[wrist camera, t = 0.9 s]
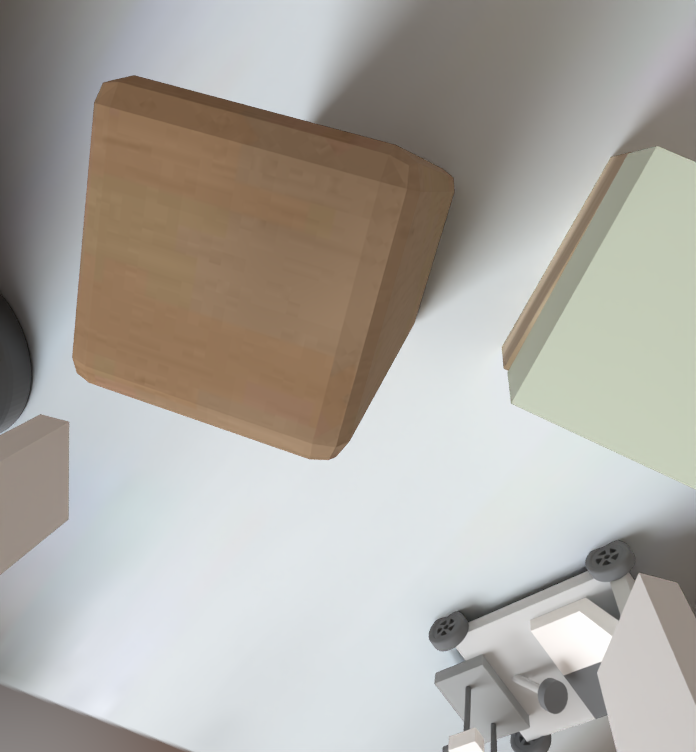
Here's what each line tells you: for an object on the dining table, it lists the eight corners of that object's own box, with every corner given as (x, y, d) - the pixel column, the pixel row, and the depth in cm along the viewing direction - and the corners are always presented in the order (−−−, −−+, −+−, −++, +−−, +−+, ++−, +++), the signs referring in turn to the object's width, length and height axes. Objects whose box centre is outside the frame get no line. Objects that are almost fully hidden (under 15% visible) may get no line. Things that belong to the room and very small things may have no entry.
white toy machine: (485, 879, 37) (379, 746, 35) (485, 741, 46) (401, 632, 44) (782, 806, 30) (666, 641, 29) (713, 663, 39) (623, 533, 38)
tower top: (507, 372, 31) (511, 403, 27) (628, 153, 27) (656, 145, 22) (717, 468, 31) (758, 518, 26) (876, 258, 26) (960, 272, 22)
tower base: (501, 345, 36) (503, 368, 31) (609, 157, 32) (630, 152, 27) (680, 433, 35) (709, 469, 31) (816, 252, 31) (874, 263, 26)
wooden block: (299, 130, 35) (81, 60, 16) (460, 174, 33) (427, 151, 15) (266, 290, 38) (56, 383, 20) (411, 335, 37) (334, 481, 18)
